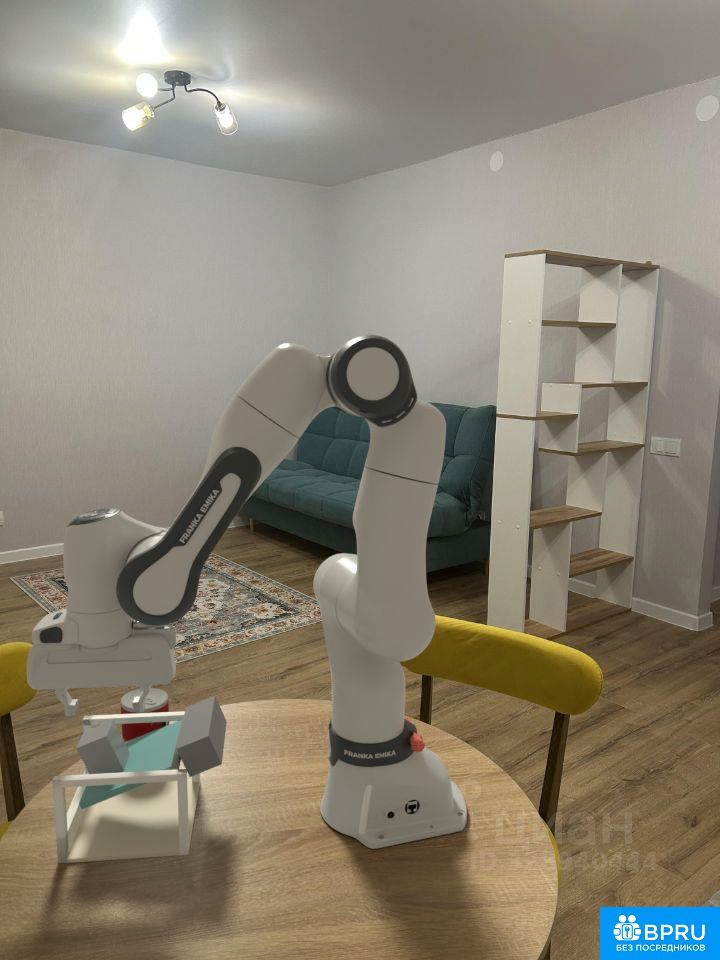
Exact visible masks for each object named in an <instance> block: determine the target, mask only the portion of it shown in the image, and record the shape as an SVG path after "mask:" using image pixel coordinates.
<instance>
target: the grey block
mask: <svg viewBox="0 0 720 960" xmlns="http://www.w3.org/2000/svg"><path fill="white" fill-rule="evenodd" d="M75 749H76V750H77V752H78V754H79V756H80V758H81V761H82V762H83V763H84V766H85V769H86V768H87V770H88V772H89V774H103V773H119V772H122V771H124V769H125V766H126V763H127V761H128V758H129V755H130V752H129V750H128V748H127V746H126V744H125V742H124V740H123V738H122V733H120V730H119V729H118V727H117V724H115V722H114V720H112V721H109V722H107V723H104V724H102V725H96V726H95V727H94V726H93V728H92V729H89V730H87V731H83V732H82V735H81V737H80V739H79V742H78V743H77V745H76V748H75Z"/></svg>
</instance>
